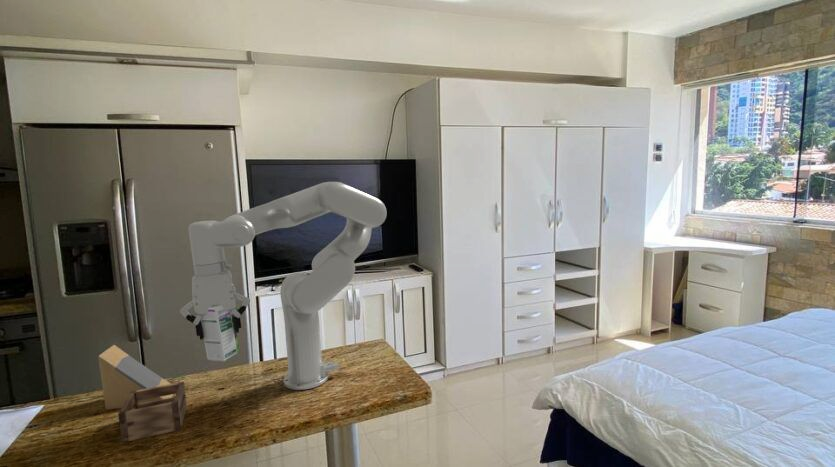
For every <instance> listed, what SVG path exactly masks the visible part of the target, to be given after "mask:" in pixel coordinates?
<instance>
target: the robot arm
mask: <svg viewBox="0 0 835 467" xmlns="http://www.w3.org/2000/svg"><path fill="white" fill-rule="evenodd" d="M328 213H334V214H337V215H338V216H341V217H344V218H346V222H345V226H344V229H343V230H342V231H341V233H339V235H338V236H337V237H336V238H334V239H333V240H332V241H331V242H330V243H328V245H326V246H325V247H324V248H323V249H321V250H320V251H319V252H318V253H316V255H315V256H314V257H313V259H312V262H311V269H312V271H311V272H310V273H309V274H307V273H304V272H292V273H290V274H288V275H287V276H286V277H285V278H284V279H283V281H282V283H281V285H280V290H279V291H280V292H279V294H280V300H281V301H280V302H281V307H282V312H283V319H284V320H283V321H284V332H285V344H286V345H285V346H286V358H287V368H288V369H287V370H288V374H286V375H285V376H284V377H283V385H284V387H285V388H288V389H290V390H295V391H301V390H309V389H313V388H317V387H319V386H322V385H323V384H325V383H326V382H327V381H328V380H329V372H331V371H339V370H340V366H339V362H337V363H336V362H335V363H334V362H333V361H329V362H325V361H323V359H322V357H323V356H322V346H321V343H322V342H321V331H320V317H319V311H320V310H321V309H323V307H325V306H326V305H327V304H329V303H330V301H332V300H333V299H334V298H335V297H336V296H337V295H338V294H339V293H340V292H342V290H344V289H345V288H346V287H347V286H348V285H349V284H350V282H351V281H352V280H353V278H354V276H355V272H356V265H355V260H356V259H357V258H358V257H360V256H361V254H362V253H364V252H365V250H366V249H367V247H368V246H369V244H370V241H371V236H372V229H374V228H377V227H380V226H381V225H382V224H384V223H385V221H386V219H387V214H388V213H387V208H386V206H385V203H384V202H383V201H382V200H380V199H379V198H377V197H375V196H373V195H371V194H368V193H366V192H363V191H362V190H359V189H357V188H355V187H352V186H350V185H348V184H345V183H343V182H340V181H326V182H321V183H318V184H316V185H313V186H312V185H311V186H310V187H307V188H305V189H302V190H299V191H297V192H294V193H291V194H289V195H288V194H287V195H285V196H283V197H280V198H277V199H274V200H272V201H269V202H266V203H264V204H261V205H257V206H254V207H252V208H249V209H247V210H244V211H241V212H238V213H235V214H233V215H230V216H228V217H226V218H225V219H224V220H221V221H217V220H203V221H202V220H201V221H195V222H192V223H190V224H189V225H188V229H187V230H188V236H189V237H188V238H189V243H190V250H191V257H192V264H193V271H194V275H193V276H192V278H191V295H192V300H190V301H189V302H188V303H186V305H185V304H184V306H182V308H181V309H180V310H179V313H180V314H181V315H182V316H183V317H184V318H185V319H186V320H187V321H189V322H190V323H192V324H193V325H194V326H195V333H196V337H199V339H200V340H201V341H202V340H204V336H203V331H202V324H201V318H202V316H203V315H206V314H208V308H209V307H210V306H219V305H222V307H223V309H224V311H231V312H232V313H233V314H234V322H235V329H236V333H237V334H238V333H240V329H242V321H241V317H242V315H243V314H244V313H245V311H246V309H247V307H248V306H249V305H250V302H251V298H249V297H248V296H245V295H243V294H241V293H238V292H236V287H235V282H234V278H233V275H232V272H231V270H228V269H229V268H232V267H233V262H232V261H230V262H229V261H227V259H226V254H225V253H226V252H225V248H241V247H245V246H248V245H250V243H252V241H254V238H255V237H256V236H257V235H260V234H262V233H265V232H269V231H272V230H276V229H285V228H286V229H288V228H291V227H296V226H298V225H301V224H304V223H305V222H308V221H311V220H314V219H315V218H318V217H322V216H324V215H326V214H328ZM238 301H241V302H243V303H242V304H241V306H240V307H239V308H238V307H237V304H238ZM192 308H193V311H194V314H195V315H193V314H192V313H190V312H189V310H190V309H192Z"/></svg>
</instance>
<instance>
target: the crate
mask: <svg viewBox="0 0 835 467" xmlns="http://www.w3.org/2000/svg"><path fill="white" fill-rule="evenodd" d="M172 394H174V395H175V396H172V397H171V398H166V399H161V400H156V401H150V402H145V403H140V404H139V403H138V401H140V400H146V399H151V398H156V397H161V396H166V395H172ZM187 408H188V406H187V395H186V388H185V381H180V382H175V383H170V384H168V385H163V386H158V387H152V388H147V389H141V390H136V391H131V392H130V393H129V395H128V397H127V399H126V401H125V403H124V405H123V406H122V408H120V410H119V412H118V422H119V430H120V438H121V443H126V442H131V441H135V440H141V439H145V438H149V437H153V436H154V437H155V436H157V435H162V434H167V433H171V432H177V431H181V430H182V427H183V423H184V420H185V419H184V418H185V415H186V411H187Z"/></svg>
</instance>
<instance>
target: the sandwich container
mask: <svg viewBox="0 0 835 467" xmlns="http://www.w3.org/2000/svg"><path fill="white" fill-rule="evenodd" d="M97 357H98V365H99V371H100V372H99V373H100V376H101V377H100V378H101V385H102V393H103V399H104V405H105V410H114V409H121V408H122V406H123V405H124V403H125V401H126V399H127V397H128V395H129V393H130V392H131V391H136V390H141V389H147V388H152V387H158V386H163V385H168V384H171V383H170V382H169V381H167V380H166V379H164V378H163V377H162V376H160V375H159V374H157V373H156V372H154V371H153V370H151V369H149V368H148V367H147V366H146V365H144V364H142V363H141V362H139V361H138V360H136V359H135V358H133V356H131V355H129V354H128V353H126V352H125V351H124V350H122V348H120V347H118V346H116V344H112V346H110V347H109V348H107V349H106V350H104V351H103V352H102V353H101V354H99V355H98V356H97ZM174 395H175V394H172V395H166V396H161V397H156V398H151V399H146V400H140V401H138V403H139V404H140V403H145V402H150V401H156V400H161V399H166V398H171V397H174Z"/></svg>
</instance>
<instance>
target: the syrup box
mask: <svg viewBox="0 0 835 467" xmlns="http://www.w3.org/2000/svg"><path fill="white" fill-rule="evenodd" d="M234 316H235V315H234V314H233V313H232V312H231V311H224V309H223V307H222V305H219V306H210V307H209V308H208V314H206V315H203V316H202V318H201V324H202V331H203V336H204V338H203V341H204V347H205V354H206V359H207V360H208V361H214V362H226V361H227V360H229V359H230V358H232V357H234V356H236V355H237V354H240V347H239V339H238V333H236V329H235V322H234Z"/></svg>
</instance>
